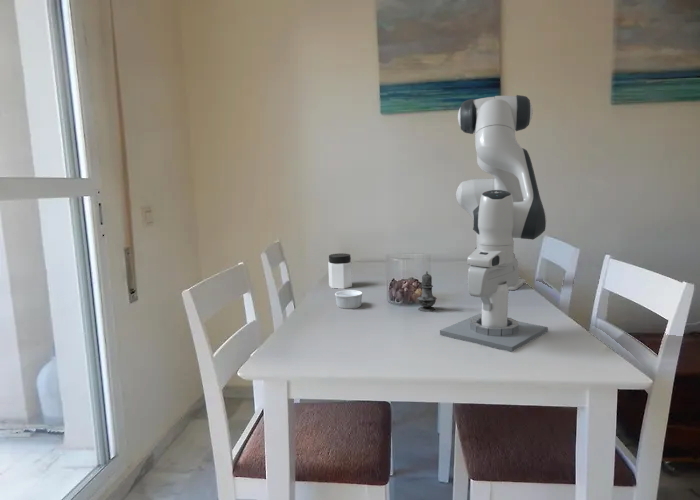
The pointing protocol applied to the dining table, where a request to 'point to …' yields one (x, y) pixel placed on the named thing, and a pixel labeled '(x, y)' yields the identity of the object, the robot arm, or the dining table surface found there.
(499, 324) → the can
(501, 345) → the board
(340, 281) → the jar
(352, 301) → the ramekin
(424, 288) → the salt shaker
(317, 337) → the dining table surface
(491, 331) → the collar
